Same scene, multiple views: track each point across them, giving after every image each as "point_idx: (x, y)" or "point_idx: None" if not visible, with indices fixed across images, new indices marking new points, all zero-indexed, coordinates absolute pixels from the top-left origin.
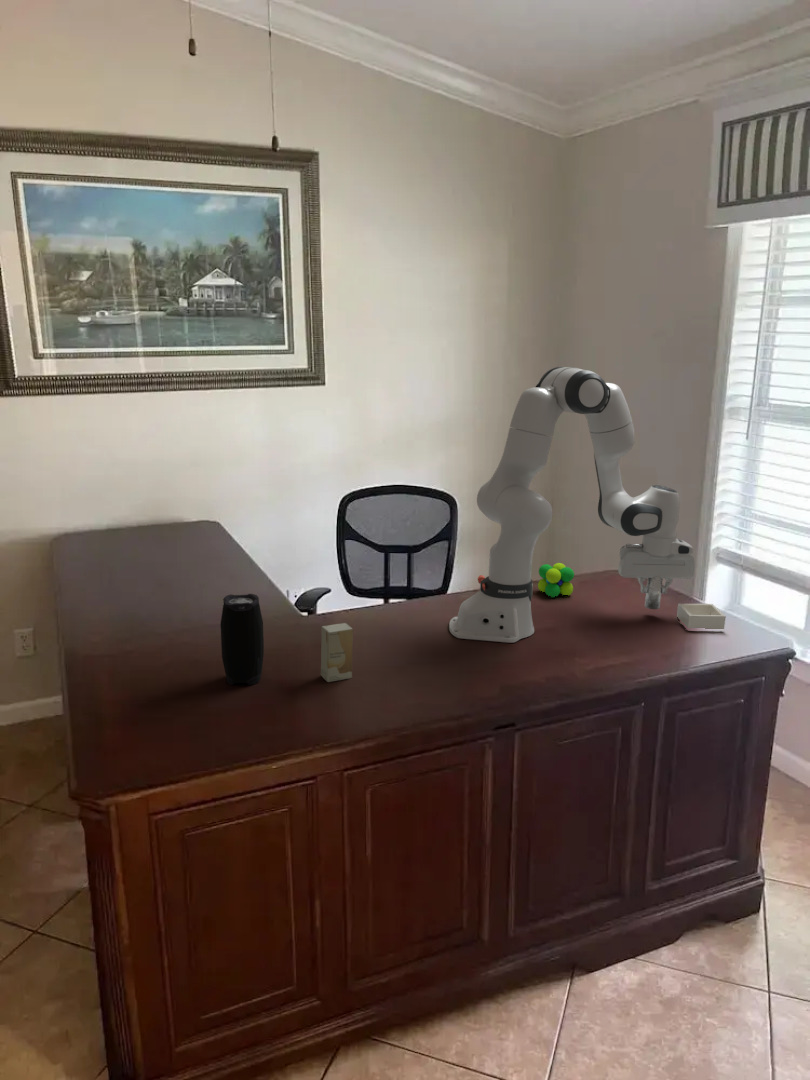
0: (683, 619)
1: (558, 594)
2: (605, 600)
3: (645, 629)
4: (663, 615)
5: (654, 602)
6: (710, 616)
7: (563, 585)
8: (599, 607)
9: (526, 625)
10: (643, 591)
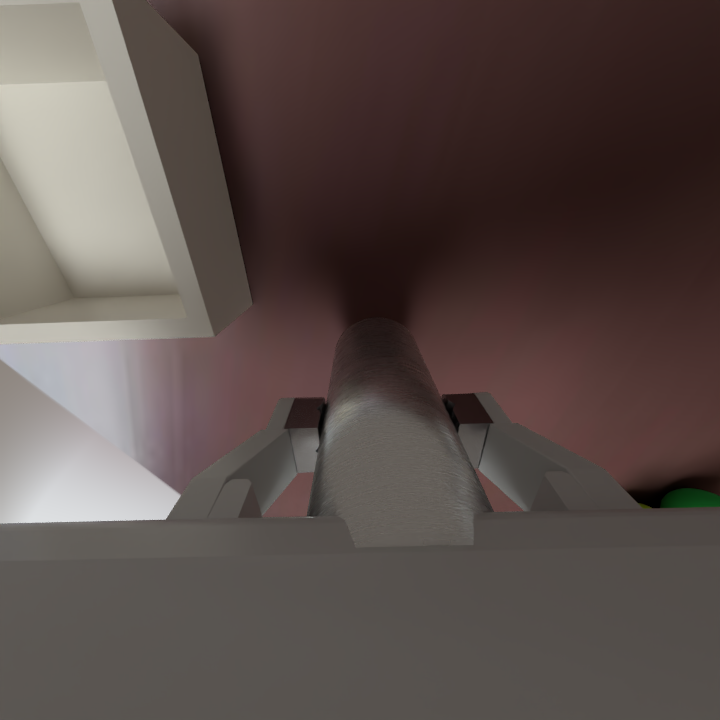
0: (206, 180)
1: (673, 499)
2: None
3: (480, 94)
4: (310, 348)
5: (381, 335)
6: None
7: None
8: (560, 418)
9: None
10: (482, 398)
